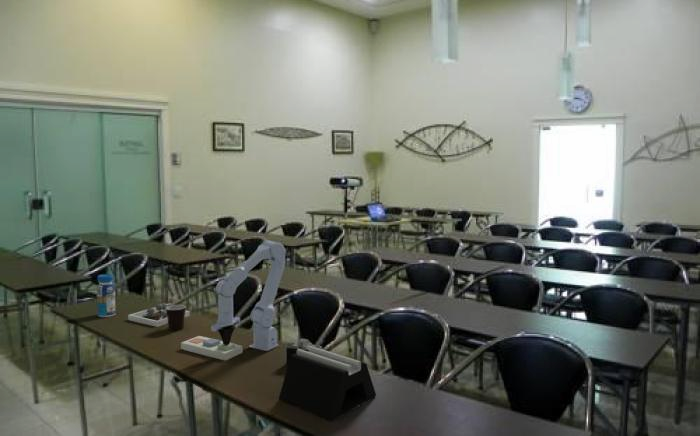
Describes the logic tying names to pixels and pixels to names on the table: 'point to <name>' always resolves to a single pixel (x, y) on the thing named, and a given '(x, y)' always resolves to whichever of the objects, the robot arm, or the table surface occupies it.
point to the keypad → (211, 349)
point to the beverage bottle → (106, 296)
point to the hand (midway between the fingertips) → (226, 344)
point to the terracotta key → (197, 340)
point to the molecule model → (158, 307)
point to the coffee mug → (176, 317)
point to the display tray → (139, 318)
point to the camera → (293, 347)
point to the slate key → (211, 342)
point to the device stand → (326, 383)
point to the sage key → (226, 346)
